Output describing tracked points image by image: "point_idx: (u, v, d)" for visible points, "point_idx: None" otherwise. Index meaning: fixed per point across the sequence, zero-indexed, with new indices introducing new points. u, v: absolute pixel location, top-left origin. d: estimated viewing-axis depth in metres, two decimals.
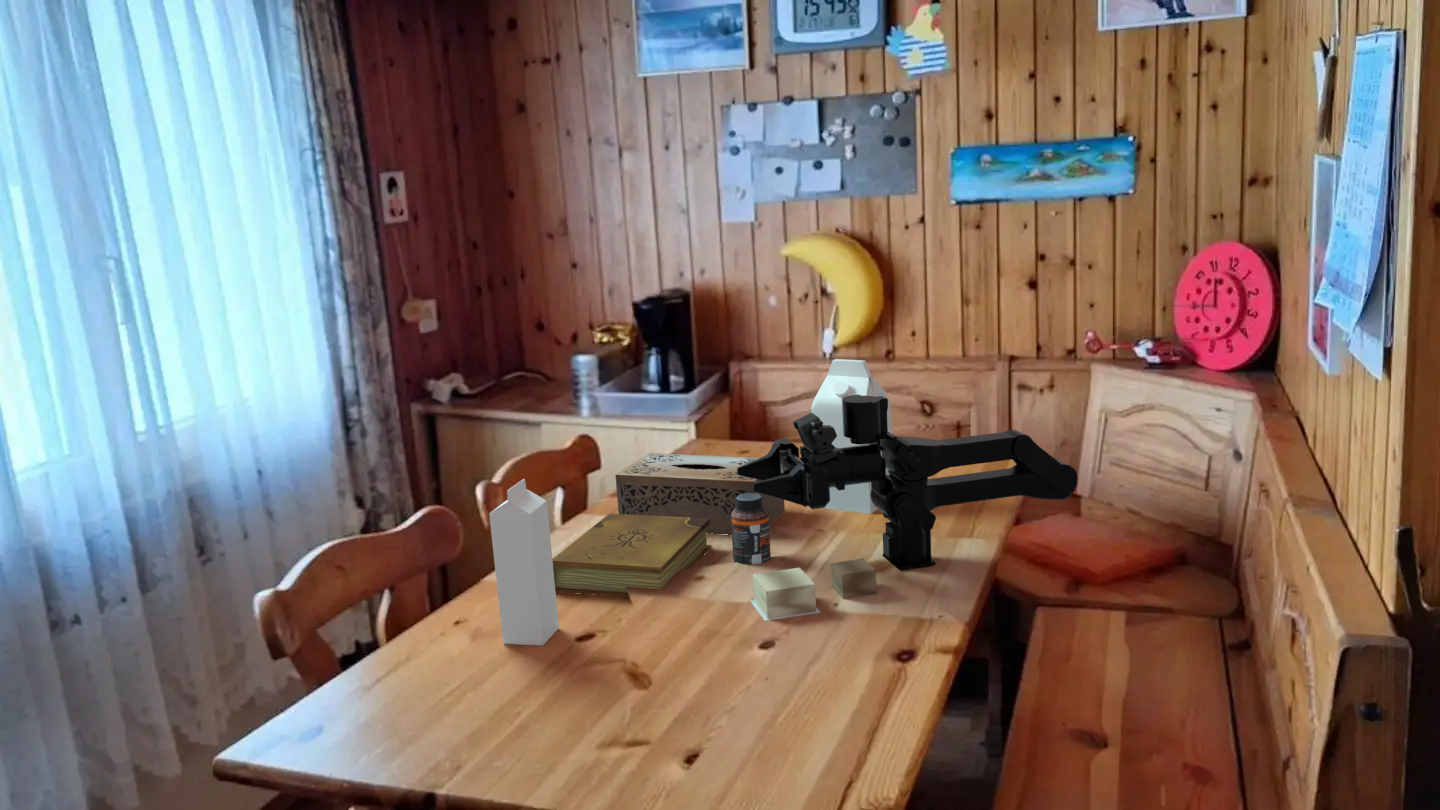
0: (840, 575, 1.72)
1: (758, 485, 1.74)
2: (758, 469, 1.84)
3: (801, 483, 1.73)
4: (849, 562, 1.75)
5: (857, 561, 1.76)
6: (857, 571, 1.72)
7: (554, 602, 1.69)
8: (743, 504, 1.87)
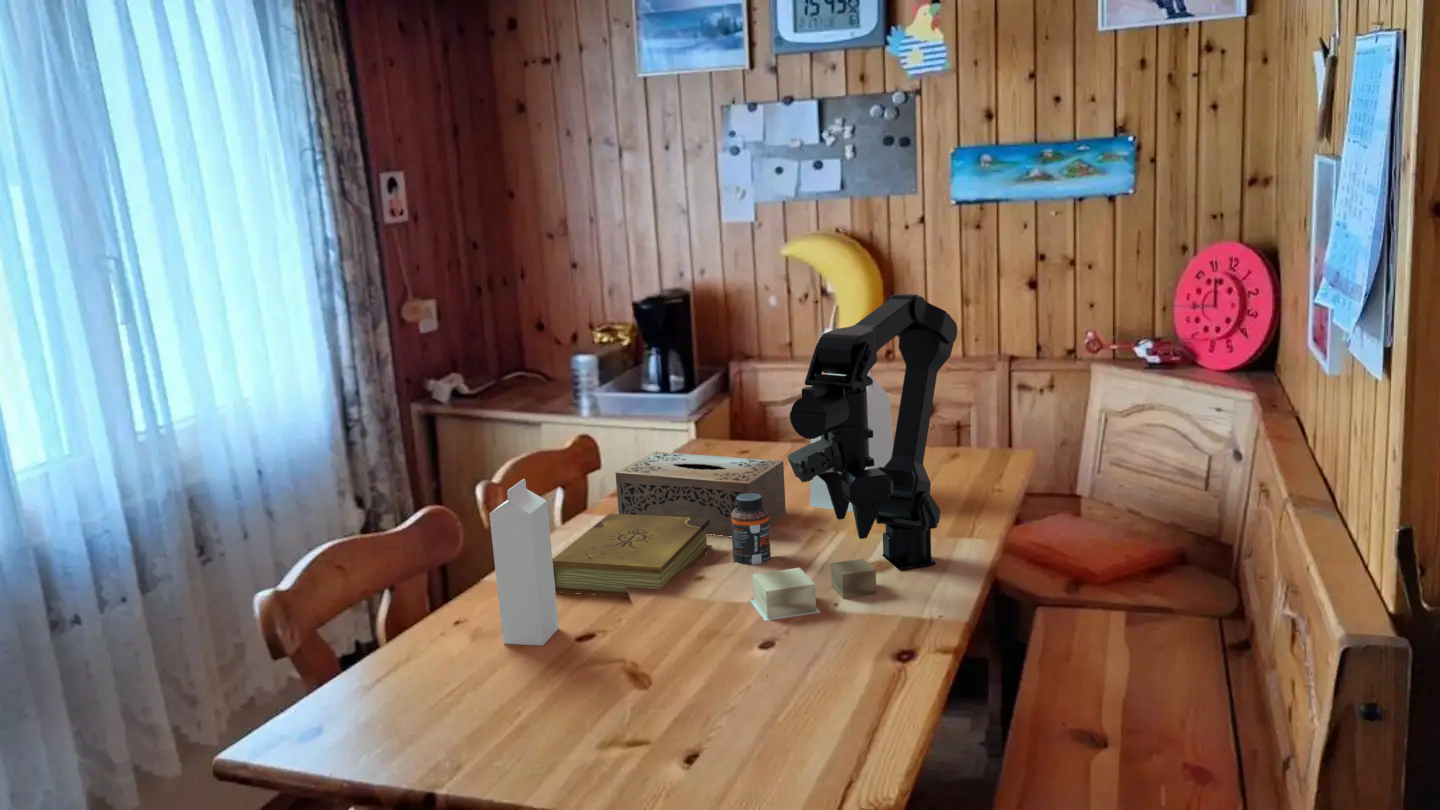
0: (840, 575, 1.72)
1: (861, 535, 1.68)
2: (840, 497, 1.76)
3: None
4: (849, 562, 1.75)
5: (857, 561, 1.76)
6: (857, 571, 1.72)
7: (554, 602, 1.69)
8: (743, 504, 1.87)
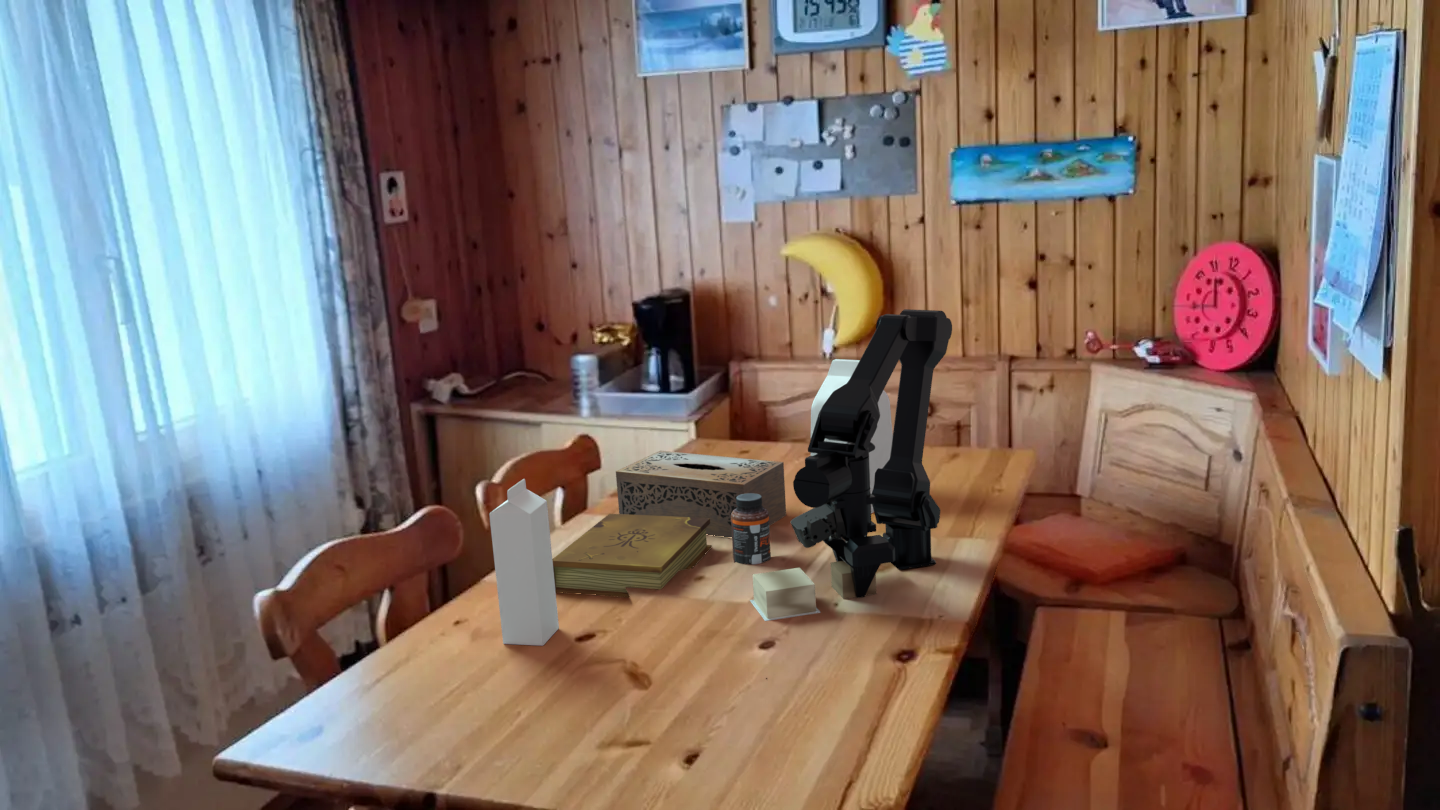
0: (840, 574, 1.72)
1: (859, 595, 1.71)
2: None
3: None
4: None
5: None
6: None
7: (554, 602, 1.69)
8: (743, 504, 1.87)
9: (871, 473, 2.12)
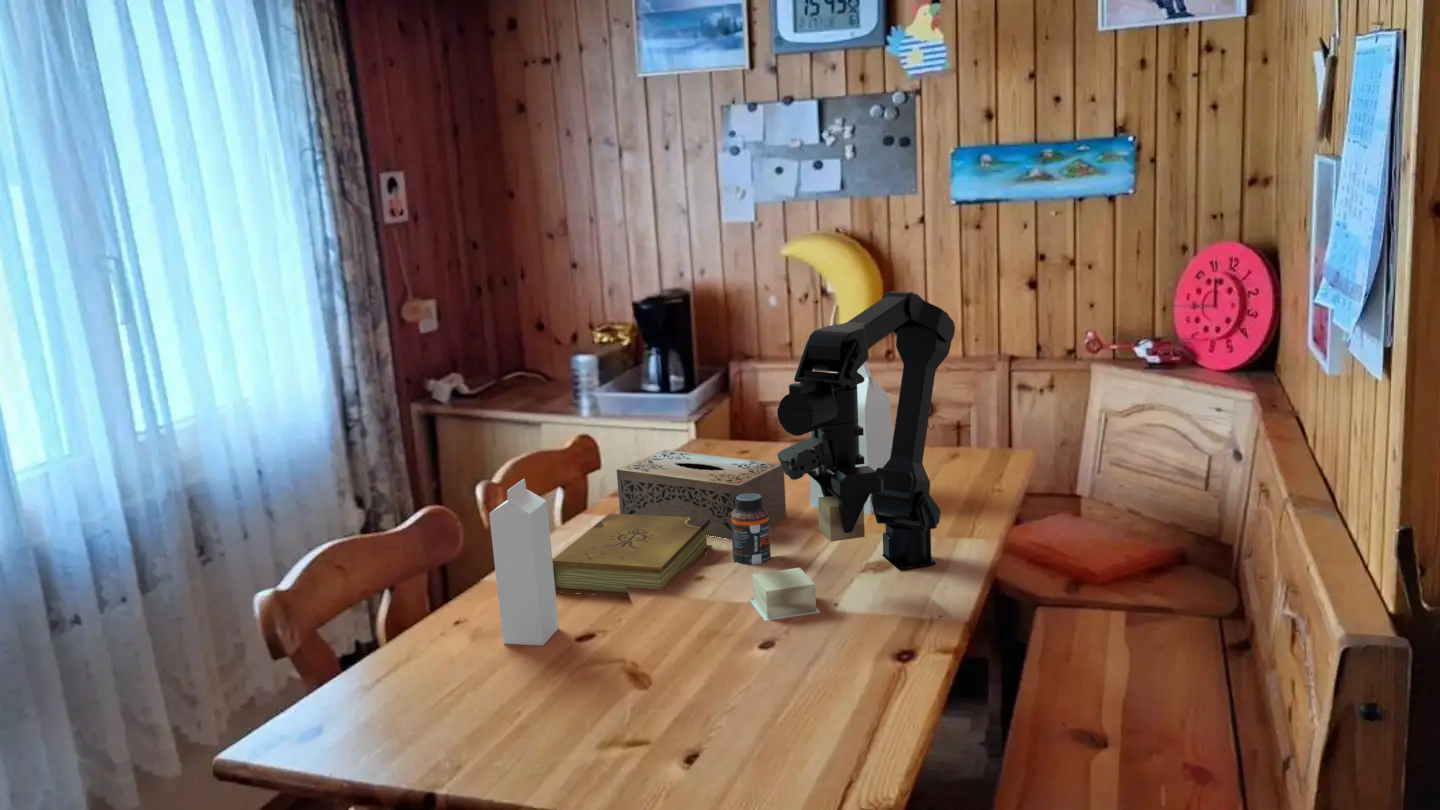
0: (827, 508, 1.69)
1: (847, 529, 1.69)
2: None
3: None
4: (836, 497, 1.72)
5: None
6: None
7: (554, 602, 1.69)
8: (743, 504, 1.87)
9: None
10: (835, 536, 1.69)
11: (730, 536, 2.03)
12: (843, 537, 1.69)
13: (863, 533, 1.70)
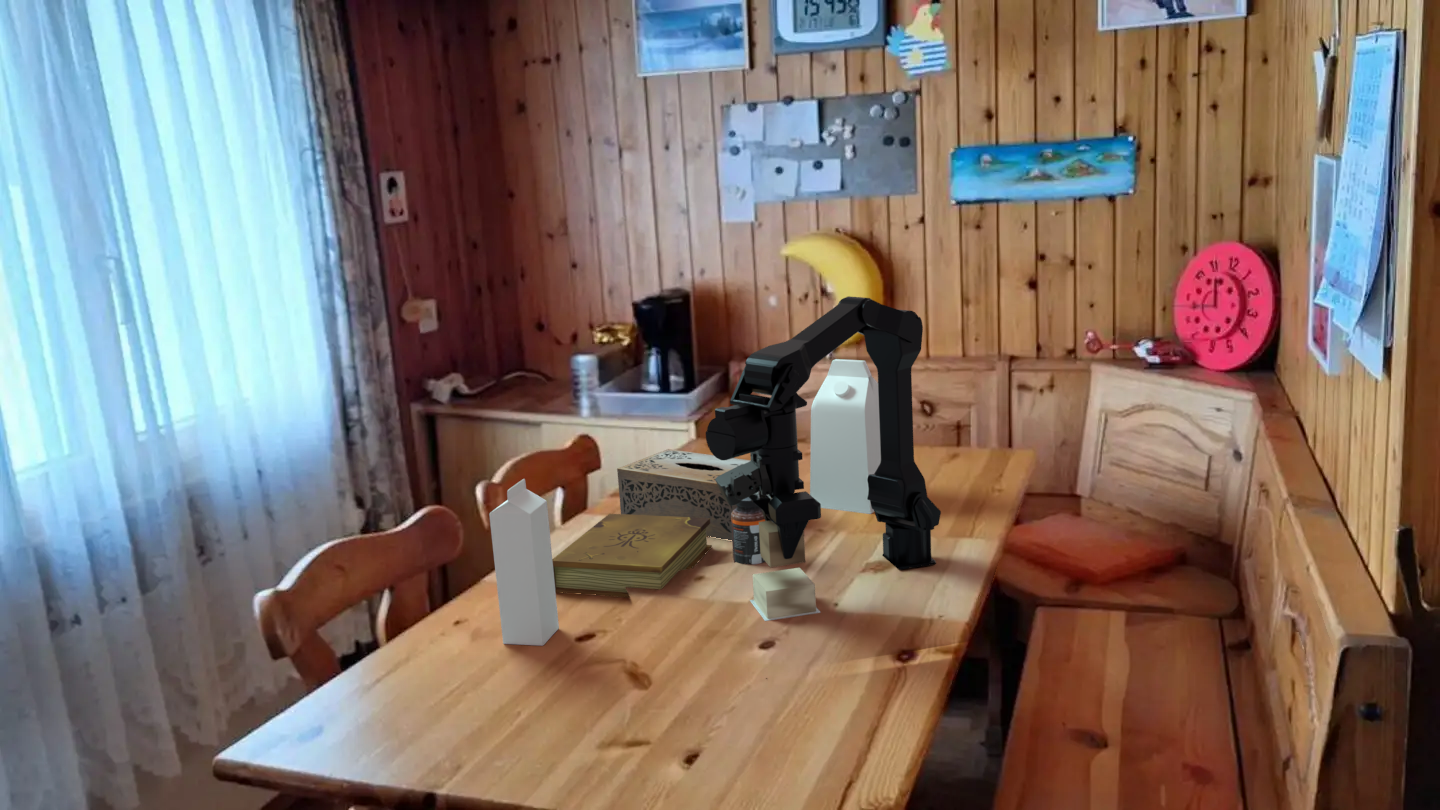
0: (767, 533, 1.65)
1: (786, 555, 1.65)
2: None
3: None
4: None
5: None
6: None
7: (554, 602, 1.69)
8: (743, 504, 1.87)
9: (871, 473, 2.12)
10: (774, 562, 1.66)
11: (727, 537, 2.03)
12: (783, 563, 1.66)
13: (804, 559, 1.67)
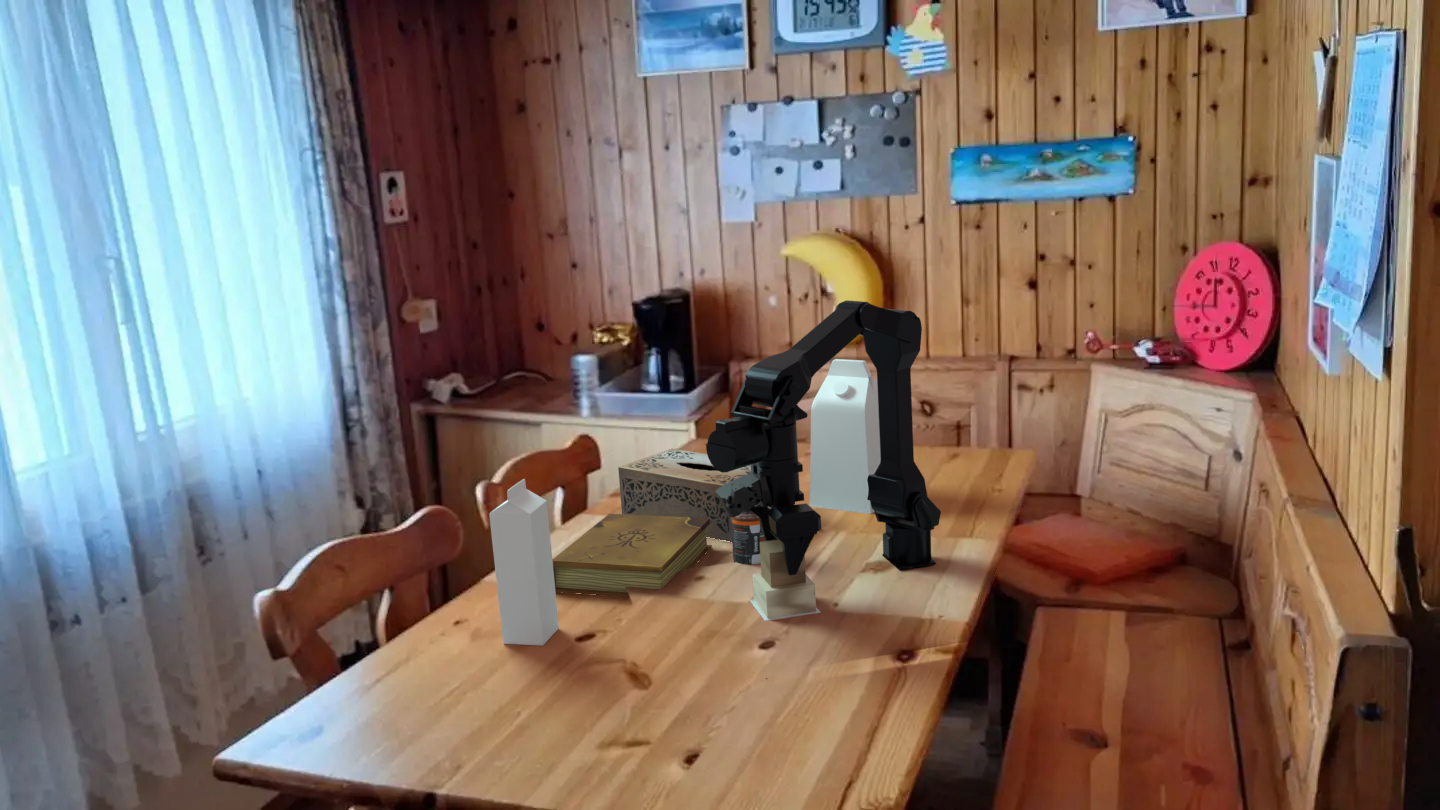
0: (768, 554, 1.66)
1: (791, 571, 1.64)
2: None
3: None
4: (778, 541, 1.70)
5: None
6: None
7: (554, 602, 1.69)
8: None
9: (871, 473, 2.12)
10: (775, 582, 1.66)
11: (723, 537, 2.03)
12: (784, 583, 1.67)
13: (805, 579, 1.67)
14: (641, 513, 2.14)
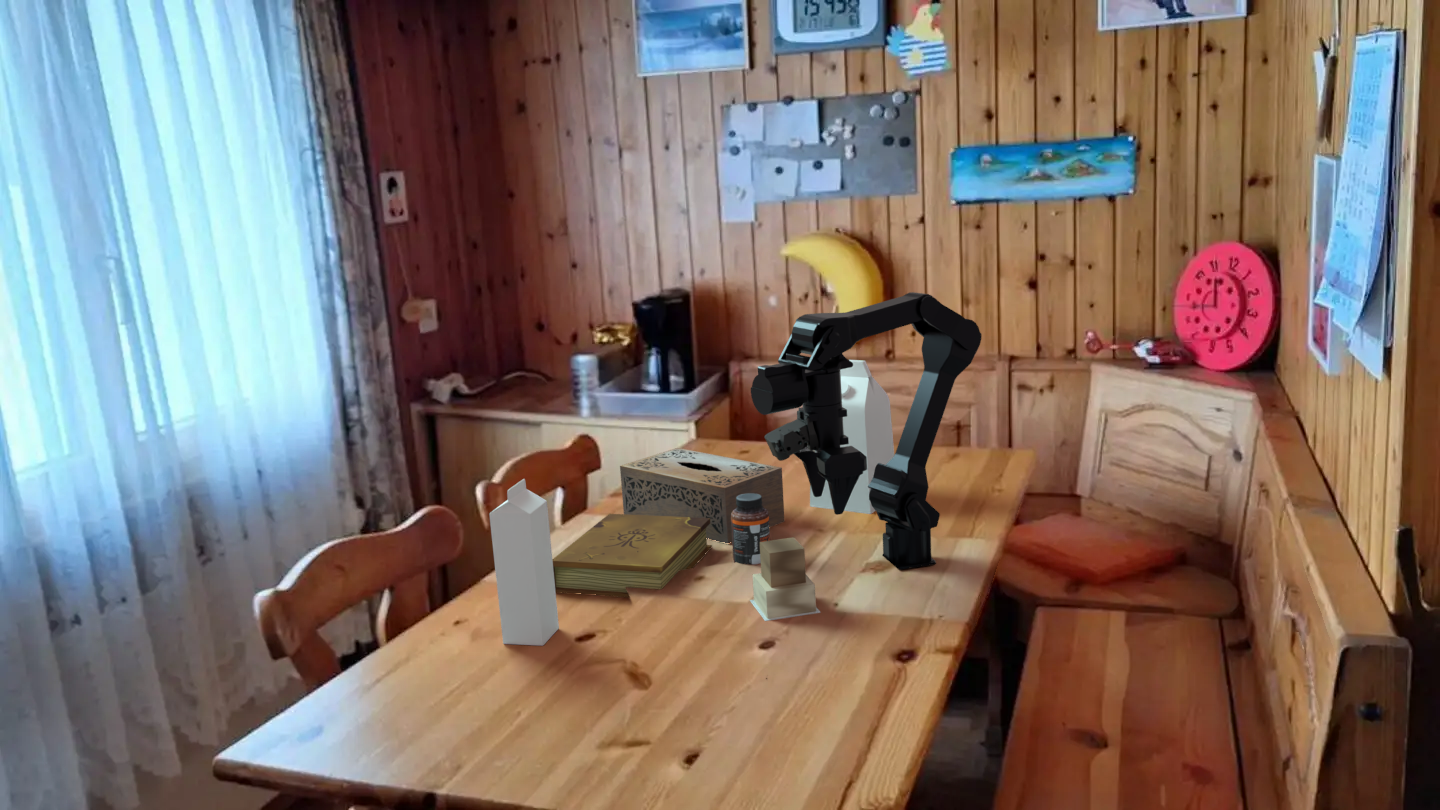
0: (768, 554, 1.66)
1: (837, 511, 1.73)
2: (817, 475, 1.82)
3: None
4: (778, 541, 1.70)
5: (787, 540, 1.70)
6: (785, 550, 1.66)
7: (554, 602, 1.69)
8: (743, 504, 1.87)
9: (871, 473, 2.12)
10: (775, 582, 1.66)
11: (718, 538, 2.02)
12: (784, 583, 1.67)
13: (805, 579, 1.67)
14: (641, 512, 2.15)
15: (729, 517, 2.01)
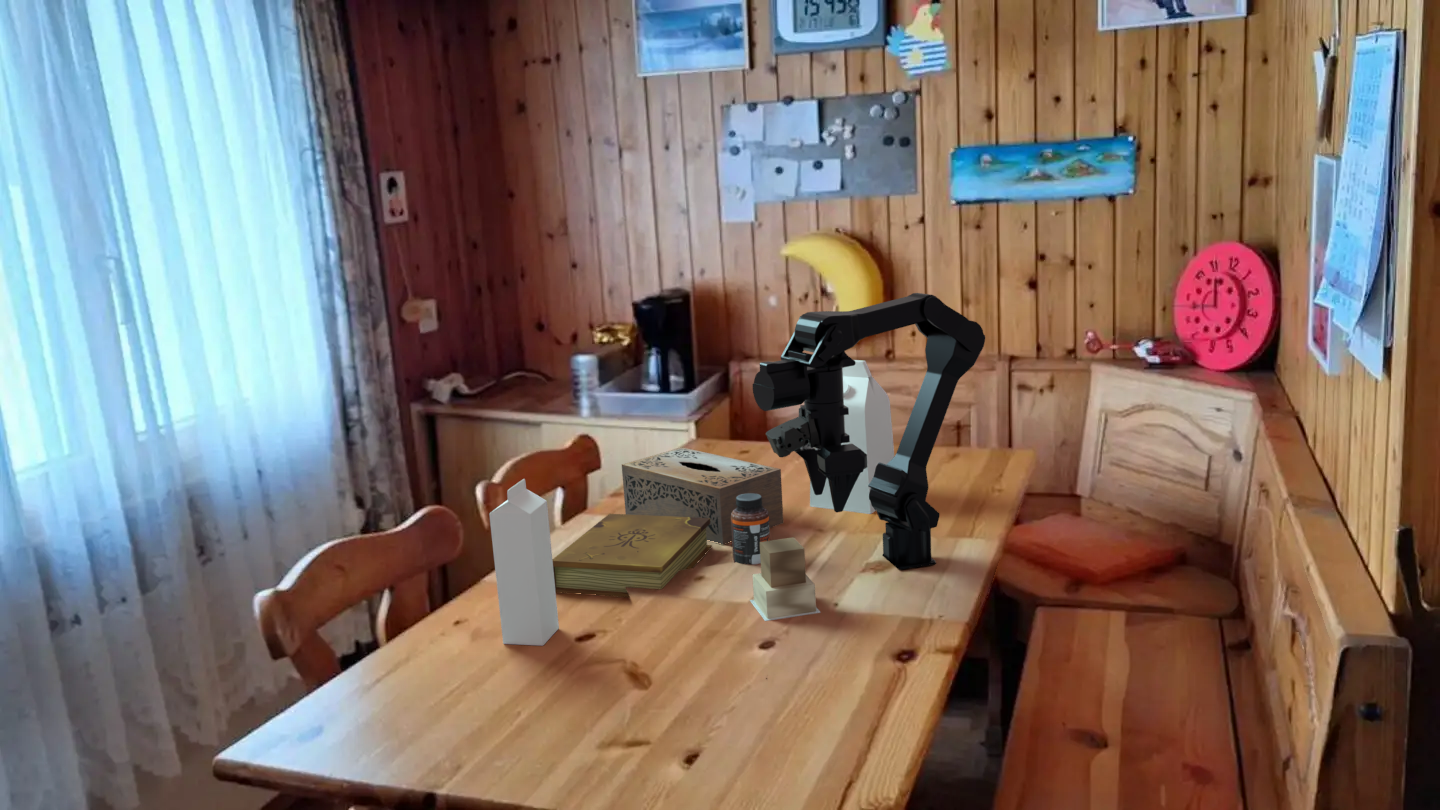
0: (768, 554, 1.66)
1: (837, 508, 1.74)
2: (818, 473, 1.82)
3: None
4: (778, 541, 1.70)
5: (787, 540, 1.70)
6: (785, 550, 1.66)
7: (554, 602, 1.69)
8: (743, 504, 1.87)
9: (871, 473, 2.12)
10: (775, 582, 1.66)
11: (713, 538, 2.02)
12: (784, 583, 1.67)
13: (805, 579, 1.67)
14: (642, 511, 2.16)
15: (724, 518, 2.00)
